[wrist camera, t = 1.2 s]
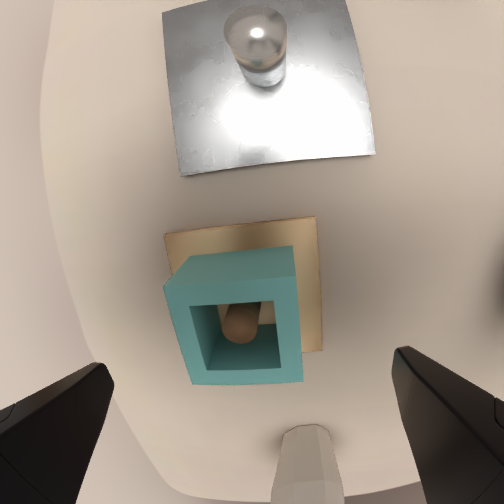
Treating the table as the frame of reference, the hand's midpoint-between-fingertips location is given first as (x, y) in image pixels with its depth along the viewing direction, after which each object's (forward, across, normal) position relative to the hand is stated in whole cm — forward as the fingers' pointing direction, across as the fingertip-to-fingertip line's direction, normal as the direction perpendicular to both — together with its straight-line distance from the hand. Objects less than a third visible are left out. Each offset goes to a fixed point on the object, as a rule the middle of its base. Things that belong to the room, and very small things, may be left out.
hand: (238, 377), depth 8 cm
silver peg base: (+12, -2, -11) cm, 17 cm away
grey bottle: (+13, -2, +20) cm, 24 cm away
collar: (+12, +2, +3) cm, 12 cm away
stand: (+12, +2, +3) cm, 13 cm away
